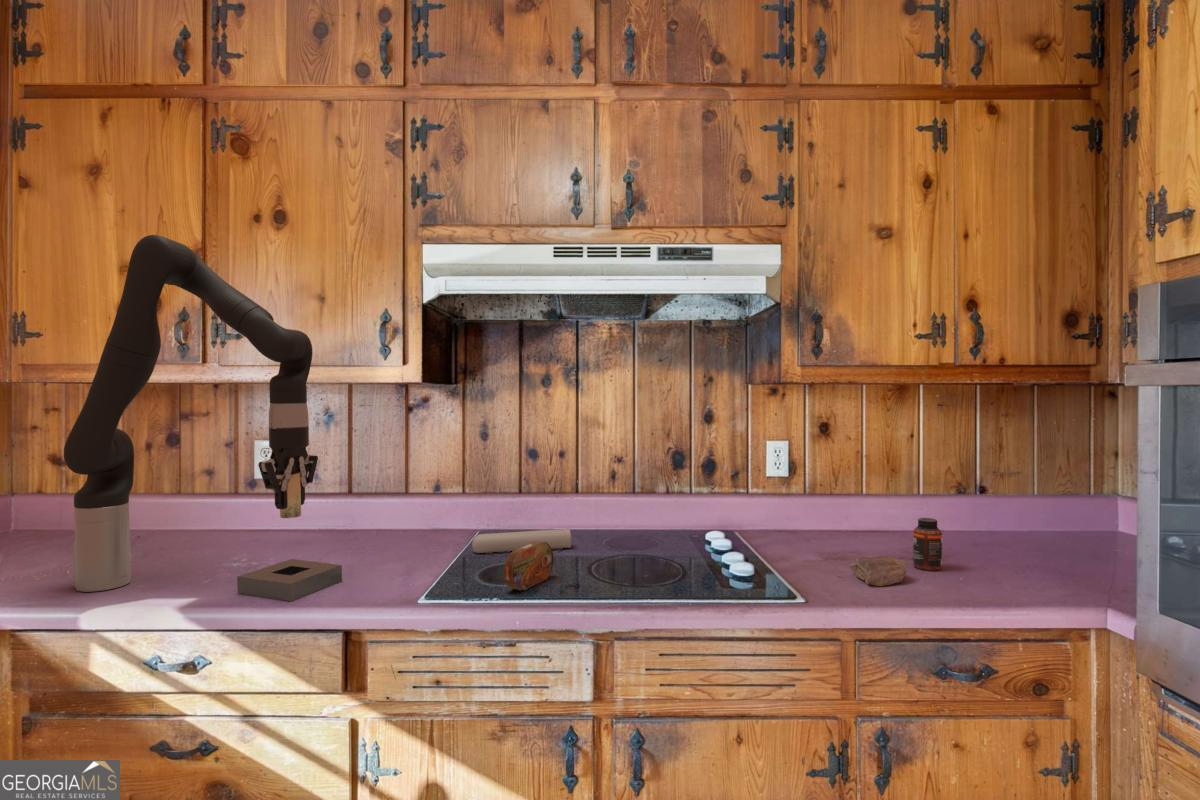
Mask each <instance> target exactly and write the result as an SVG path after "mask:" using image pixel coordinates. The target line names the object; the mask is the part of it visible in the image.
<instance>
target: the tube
mask: <svg viewBox="0 0 1200 800" xmlns="http://www.w3.org/2000/svg"><path fill="white" fill-rule="evenodd" d="M534 542H546V543H548V544H549V545H550V547H551V549H552V550H564V549H563V548H572V533H571V529H570V528H569V527H566V528H559V529H545V530H529V531H528V530H527V531H513V532H509V531H508V532H496V533H495V532H494V533H493V532H492V533H479V534H477V535H476V536H474V537H473V539H472V543H471V547H472V550H473V552H475V553H476V554H477V553H486V554H494V553H493V552H502V553H506V552H505V551H514V550H516V549H519V548H521V547H524V546H526V545H529V544H531V543H534Z"/></svg>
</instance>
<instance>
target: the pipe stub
mask: <svg viewBox="0 0 1200 800" xmlns="http://www.w3.org/2000/svg"><path fill="white" fill-rule="evenodd" d="M279 475H284V474H279ZM280 484H281V479H280ZM285 491H287V508H286V509H279V518H280V519H292V518H293V519H294V518H299V517H301V516H302V505H301V473H291V475H290V479H289V480H288V481H287V486H286V490H285Z"/></svg>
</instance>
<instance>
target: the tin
mask: <svg viewBox="0 0 1200 800" xmlns="http://www.w3.org/2000/svg"><path fill="white" fill-rule="evenodd" d="M553 568H554V552H553V549H551V547H550V545H549V544H548V543H546V542H534V543H531V544H529V545H526V546H524V547H521V548H519V549H516V550H514V551H512V552H509V554H508V555H507V558H506V560H505V562H504V570H503V571H504V572H503V574H504V580H505V584H506V586H507V587H508V588H509V589H511V590H514V589H515V590H516V591H519V592H522V591H521V590H523V589H525V588H527V587H529V586H531V585H534V584H537V583H539V584H541V583H543V582H545V581H546V580H548V578H549V577H550V576H551V573H552V571H553ZM544 580H545V581H544ZM542 581H543V582H542ZM540 582H541V583H540ZM537 585H538V584H537Z"/></svg>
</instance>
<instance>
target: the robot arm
mask: <svg viewBox="0 0 1200 800" xmlns="http://www.w3.org/2000/svg"><path fill="white" fill-rule="evenodd" d="M165 285H168V286H169V285H170V286H176V287H178V288H180V289H182V290H184V291H186V292H188V293H190V294H192V295H194V296H196V297H198V299H200V300H202V301H203V302H204V303H205V304H206V305H207V306H208V307H209V309H211V311H212V312H213V313H214V315H216V317H217V318H219V320H221V321H222V322H223V323H224V324H226V325H227V326H228V327H230V328H232V329H233V330H235V331H236V332H237V333H239V334H240V336H243V337H244V338H246V339H247V340H248V341H249V342H250V344H251V345H252V346H253V347H254V348H255V349H256V350H257V351H258V352H259V353H260V354H261V355H262V356H264V357H266V358H267V359H269V360H271V361H273V362H276V363H279V367H278V368H279V370H278V373H277V374H276V375H273V376H272V377H271V378H270V381H269V387H268V388H269V408H268V447H269V448H270V449H271V455H270V457H269V459H267V460H265V461H260V462H259V463H258V465H257V466H258V468H259V472H260V475H261V478H262V482H263V484H264V487H265V489H266V490H273V492H274V506H275V508H276V509H278V510H280V509H286V508H287V491H285V490H286V486H287V481H288V480H289V479H290V475H291V473H301V506H303V505H304V504H305V502H306V501H305V500H306V487H307V485H308V484H311V483H313V481H314V477H315V473H316V469H317V463H318V460H319V457H318V456H317V455H313V454H309V453H308V451H307V448H308V447H309V446H310V438H309V437H310V436H309V435H310V431H309V430H310V429H309V426H310V425H309V420H310V419H309V410H308V403H307V402H308V396H307V395H308V388H307V383H308V378H309V375H310V370H311V366H312V365H311V364H312V360H313V353H314V352H313V345H312V342H311V339H310V338H309V336H308V335H307V334H306V333H305V332H303V331H301V330H297V329H290V328H289V329H288V328H285V327H283V326H281V325H280V324H278V323H276V322H275V320H274V317H273V315H272V314H271V313H270V312H269V311H268V310H266V309H265V308H263V306H261V305H259V304H258V303H257V302H255V301H254V300H252V299H251V298H249V297H248V296H247V295H245V294H244V293H243V292H240V291H239V290H238V289H236V288H235V287H234V286H232V285H230V283H228V282H227V281H226V280H225V279H223V278H221V277H220V276H219V274H217V273H216V272H215V271H213V269H212V268H211V267H210V266H209V265H207V263H205V262H204V260H203V259H201V258H200V256H198V255H197V253H196V252H195V251H193V250H192V249H191V248H189V246H187V245H186V244H183V243H181V242H178V241H177V240H173V239H170V238H167V237H164V236H161V235H159V234H150V235H146V236H144V237H142V238H141V239H139V240H138V241H137V243H136V244H135V246H134V248H133V250H132V252H131V254H130V259H129V262H128V267H127V271H126V276H125V281H124V285H123V290H122V294H121V298H120V300H119V305H118V307H117V310H116V314H115V316H114V320H113V324H112V326H111V329H110V332H109V335H108V337H107V339H106V340H105V341H106V342H105V344H104V347H103V349H102V353H101V356H100V359H99V363H98V365H97V368H96V371H95V375H94V377H93V379H92V382H91V385H90V387H89V390H88V394H87V396H86V398H85V401H84V404H83V405H82V408H81V410H80V412H79V415H78V416H77V418H76V420H75V422H74V423H73V426H72V428H71V430H70V431H69V434H68V436H67V439H66V441H65V443H64V447H63V460H64V462H65V465H66V467H68V469H69V470H70V471H71V472H73V473H75V474H78V475H81V476H83V475H85V476H86V475H87V476H86V477H87V478H86V481H85V483H84V484H83V486H81V488H80V489H79V490H77V491H76V492H75V494H74V496H73V513H74V514H73V515H74V517H73V518H74V541H73V543H72V559H73V561H72V563H73V564H72V565H73V587H75V590H76V591H77V592H84V593H85V592H86V593H87V592H88V593H89V592H91V593H92V592H101V591H107V590H113V589H118V588H120V587H123V586H125V585H128V584H129V583H131V540H130V539H131V535H130V532H131V531H130V530H131V529H130V494H131V491H132V489H133V486H134V473H135V472H134V470H135V449H134V448H135V447H134V444H133V441H132V439H131V436H130V435H129V434H128V433H126V431H124V430H122V429H121V428H118V426H119V423H120V420H121V417H122V416H123V414H124V412H125V411H126V409H127V408H128V406H130V404H131V403H132V401H133V400H134V399H135V398H136V397H137V395H138V394H140V392H141V391H142V389H144V387H145V386H146V385H147V383H148V382H149V380H150V379H151V376H152V374H153V372H154V370H155V367H156V364H157V361H158V358H159V356H160V353H161V347H162V340H161V330H160V325H159V320H158V319H159V318H158V305H159V304H158V303H159V300H160V297H161V294H162V292H163V288H164V286H165ZM279 474H284V475H279ZM280 479H281V484H280Z"/></svg>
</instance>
